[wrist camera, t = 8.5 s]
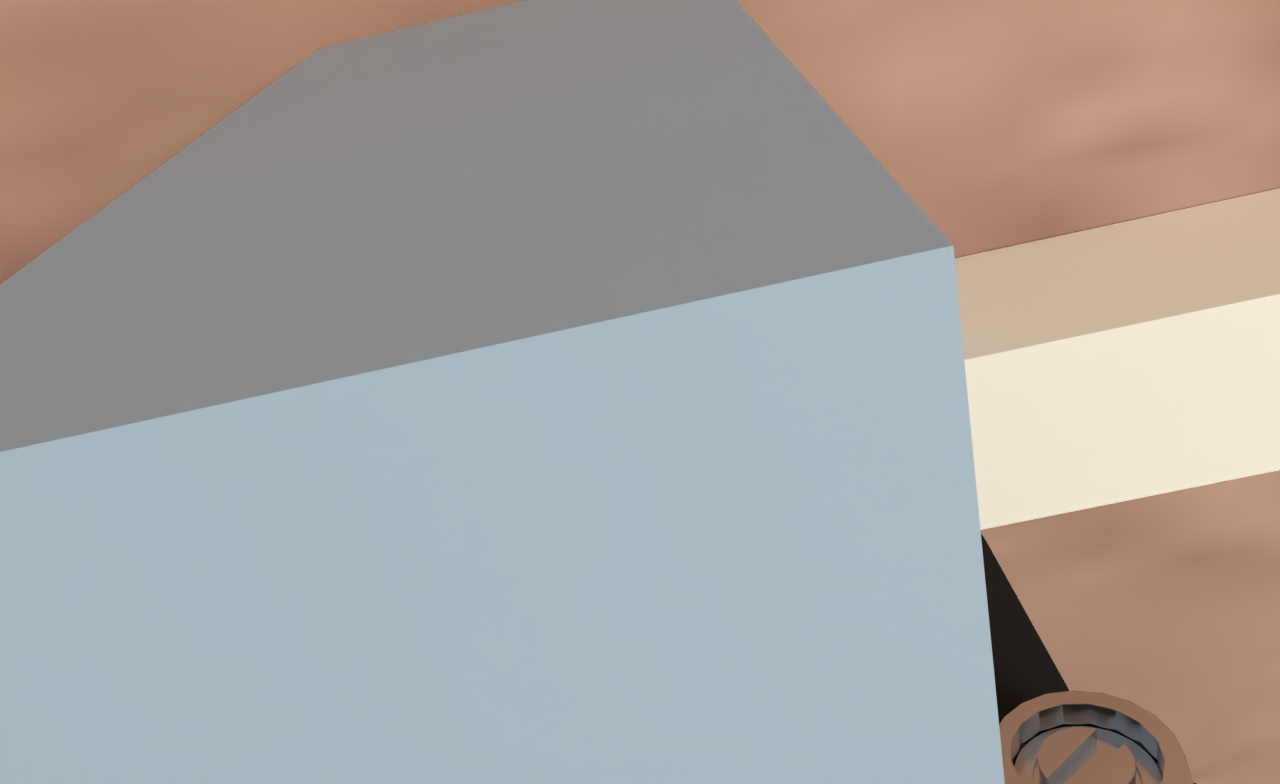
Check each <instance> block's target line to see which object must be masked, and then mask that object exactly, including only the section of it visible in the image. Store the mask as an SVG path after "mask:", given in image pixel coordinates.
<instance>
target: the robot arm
mask: <svg viewBox="0 0 1280 784" xmlns="http://www.w3.org/2000/svg"><path fill="white" fill-rule="evenodd" d="M981 540H982V551H983V561H984V572H985V582H986V593H987V603H988V613H989V624H990V634H991V645H992V655H993V666H994V676H995V687H996V697H997V707H998V718H999V728H1000V739H1001V749H1002V760H1003V770H1004V781H1005V784H1196V783H1193V780H1192V777H1191V773H1190V770H1189V766H1188V763H1187V760H1186V756H1185V754H1184V752H1183V750H1182V748H1181V746H1180V744H1179V742H1178V740H1177V738H1176V736H1175V735H1174V733H1173V732H1172V731H1171V730H1170V729H1169V728H1168V727H1167V726H1166V725H1165V724H1164V723H1163V722H1162V721H1161V720H1159V719H1158V718H1157V717H1156V716H1155V715H1154V714H1152V713H1150V712H1149V711H1147V710H1145V709H1143V708H1141V707H1140V706H1138V705H1136V704H1134V703H1132V702H1131V701H1128V700H1124V699H1121V698H1118V697H1114V696H1111V695H1107V694H1104V693H1098V692H1086V691H1074V690H1072V691H1069V689H1068V687H1067V686H1066V684H1065V682H1064V680H1063V678H1062V677H1061V675H1060V673H1059V671H1058V669H1057V668H1056V666H1055V664H1054V662H1053V660H1052V659H1051V657H1050V655H1049V653H1048V651H1047V650H1046V648H1045V646H1044V644H1043V643H1042V641H1041V639H1040V637H1039V635H1038V634H1037V632H1036V630H1035V628H1034V626H1033V625H1032V623H1031V621H1030V619H1029V617H1028V616H1027V614H1026V612H1025V610H1024V608H1023V607H1022V605H1021V603H1020V601H1019V599H1018V598H1017V596H1016V594H1015V592H1014V590H1013V589H1012V587H1011V585H1010V583H1009V581H1008V580H1007V578H1006V576H1005V574H1004V572H1003V571H1002V569H1001V567H1000V565H999V563H998V562H997V560H996V558H995V556H994V555H993V553H992V551H991V549H990V547H989V546H988V544H987V542H986V540H985V539H984V537H983V536H982V534H981Z"/></svg>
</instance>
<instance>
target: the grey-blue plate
mask: <svg viewBox="0 0 1280 784" xmlns="http://www.w3.org/2000/svg"><path fill="white" fill-rule="evenodd" d="M0 784H1005V781H1004V770H1003V760H1002V749H1001V739H1000V728H999V718H998V707H997V697H996V687H995V676H994V666H993V655H992V645H991V634H990V624H989V613H988V603H987V593H986V582H985V572H984V561H983V551H982V540H981V530H980V519H979V509H978V499H977V488H976V478H975V467H974V457H973V446H972V436H971V425H970V415H969V405H968V394H967V384H966V373H965V363H964V352H963V342H962V331H961V321H960V311H959V300H958V290H957V279H956V269H955V258H954V248H953V245H952V243H951V242H950V241H949V240H948V239H947V238H946V237H945V236H944V234H943V233H942V232H941V231H940V230H939V229H938V228H937V227H936V225H935V224H934V223H933V222H932V221H931V220H930V219H929V218H928V216H927V215H926V214H925V213H924V212H923V211H922V210H921V209H920V207H919V206H918V205H917V204H916V203H915V202H914V201H913V200H912V198H911V197H910V196H909V195H908V194H907V193H906V192H905V191H904V189H903V188H902V187H901V186H900V185H899V184H898V183H897V182H896V180H895V179H894V178H893V177H892V176H891V175H890V174H889V172H888V171H887V170H886V169H885V168H884V167H883V166H882V165H881V163H880V162H879V161H878V160H877V159H876V158H875V157H874V156H873V154H872V153H871V152H870V151H869V150H868V149H867V148H866V147H865V145H864V144H863V143H862V142H861V141H860V140H859V139H858V138H857V136H856V135H855V134H854V133H853V132H852V131H851V130H850V129H849V127H848V126H847V125H846V124H845V123H844V122H843V121H842V120H841V118H840V117H839V116H838V115H837V114H836V113H835V112H834V111H833V109H832V108H831V107H830V106H829V105H828V104H827V103H826V102H825V100H824V99H823V98H822V97H821V96H820V95H819V94H818V93H817V91H816V90H815V89H814V88H813V87H812V86H811V85H810V83H809V82H808V81H807V80H806V79H805V78H804V77H803V76H802V74H801V73H800V72H799V71H798V70H797V69H796V68H795V67H794V65H793V64H792V63H791V62H790V61H789V60H788V59H787V58H786V56H785V55H784V54H783V53H782V52H781V51H780V50H779V49H778V47H777V46H776V45H775V44H774V43H773V42H772V41H771V40H770V38H769V37H768V36H767V35H766V34H765V33H764V32H763V31H762V29H761V28H760V27H759V26H758V25H757V24H756V23H755V22H754V20H753V19H752V18H751V17H750V16H749V15H748V14H747V13H746V11H745V10H744V9H743V8H742V7H741V6H740V5H739V4H738V2H737V1H736V0H522V1H518V2H514V3H509V4H505V5H501V6H497V7H493V8H488V9H484V10H480V11H476V12H471V13H467V14H463V15H459V16H455V17H450V18H446V19H442V20H438V21H433V22H429V23H425V24H421V25H417V26H412V27H408V28H404V29H400V30H395V31H391V32H387V33H383V34H379V35H374V36H370V37H366V38H362V39H357V40H353V41H349V42H345V43H341V44H336V45H332V46H328V47H324V48H319V49H318V50H316V51H315V52H314V53H312V54H311V55H310V56H308V57H307V58H306V59H304V60H303V61H301V62H300V63H299V64H297V65H296V66H295V67H293V68H292V69H291V70H289V71H288V72H287V73H285V74H284V75H283V76H281V77H280V78H279V79H277V80H276V81H274V82H273V83H272V84H270V85H269V86H268V87H266V88H265V89H264V90H262V91H261V92H260V93H258V94H257V95H256V96H254V97H253V98H252V99H250V100H249V101H247V102H246V103H245V104H243V105H242V106H241V107H239V108H238V109H237V110H235V111H234V112H233V113H231V114H230V115H229V116H227V117H226V118H225V119H223V120H222V121H220V122H219V123H218V124H216V125H215V126H214V127H212V128H211V129H210V130H208V131H207V132H206V133H204V134H203V135H202V136H200V137H199V138H198V139H196V140H195V141H193V142H192V143H191V144H189V145H188V146H187V147H185V148H184V149H183V150H181V151H180V152H179V153H177V154H176V155H175V156H173V157H172V158H170V159H169V160H168V161H166V162H165V163H164V164H162V165H161V166H160V167H158V168H157V169H156V170H154V171H153V172H152V173H150V174H149V175H148V176H146V177H145V178H143V179H142V180H141V181H139V182H138V183H137V184H135V185H134V186H133V187H131V188H130V189H129V190H127V191H126V192H125V193H123V194H122V195H121V196H119V197H118V198H116V199H115V200H114V201H112V202H111V203H110V204H108V205H107V206H106V207H104V208H103V209H102V210H100V211H99V212H98V213H96V214H95V215H94V216H92V217H91V218H89V219H88V220H87V221H85V222H84V223H83V224H81V225H80V226H79V227H77V228H76V229H75V230H73V231H72V232H71V233H69V234H68V235H67V236H65V237H64V238H62V239H61V240H60V241H58V242H57V243H56V244H54V245H53V246H52V247H50V248H49V249H48V250H46V251H45V252H44V253H42V254H41V255H39V256H38V257H37V258H35V259H34V260H33V261H31V262H30V263H29V264H27V265H26V266H25V267H23V268H22V269H21V270H19V271H18V272H17V273H15V274H14V275H12V276H11V277H10V278H8V279H7V280H6V281H4V282H3V283H2V284H0Z"/></svg>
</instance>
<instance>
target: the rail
mask: <svg viewBox="0 0 1280 784" xmlns="http://www.w3.org/2000/svg"><path fill="white" fill-rule="evenodd" d="M955 269H956V279H957V290H958V300H959V311H960V321H961V331H962V342H963V352H964V363H965V373H966V384H967V394H968V405H969V415H970V425H971V436H972V446H973V457H974V467H975V478H976V488H977V499H978V509H979V519H980V530H982V529H987V528H992V527H997V526H1002V525H1007V524H1012V523H1017V522H1022V521H1027V520H1032V519H1037V518H1042V517H1047V516H1052V515H1057V514H1062V513H1067V512H1072V511H1077V510H1082V509H1087V508H1092V507H1097V506H1102V505H1107V504H1112V503H1117V502H1122V501H1127V500H1132V499H1137V498H1142V497H1147V496H1152V495H1157V494H1162V493H1167V492H1172V491H1177V490H1182V489H1187V488H1192V487H1197V486H1202V485H1207V484H1212V483H1217V482H1222V481H1227V480H1232V479H1237V478H1242V477H1247V476H1252V475H1257V474H1262V473H1267V472H1272V471H1277V470H1280V188H1279V189H1274V190H1269V191H1265V192H1260V193H1256V194H1251V195H1246V196H1242V197H1237V198H1232V199H1228V200H1223V201H1219V202H1214V203H1209V204H1205V205H1200V206H1195V207H1191V208H1186V209H1182V210H1177V211H1172V212H1168V213H1163V214H1158V215H1154V216H1149V217H1144V218H1140V219H1135V220H1131V221H1126V222H1121V223H1117V224H1112V225H1107V226H1103V227H1098V228H1094V229H1089V230H1084V231H1080V232H1075V233H1070V234H1066V235H1061V236H1057V237H1052V238H1047V239H1043V240H1038V241H1033V242H1029V243H1024V244H1019V245H1015V246H1010V247H1006V248H1001V249H996V250H992V251H987V252H982V253H978V254H973V255H969V256H964V257H959V258H955Z"/></svg>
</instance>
